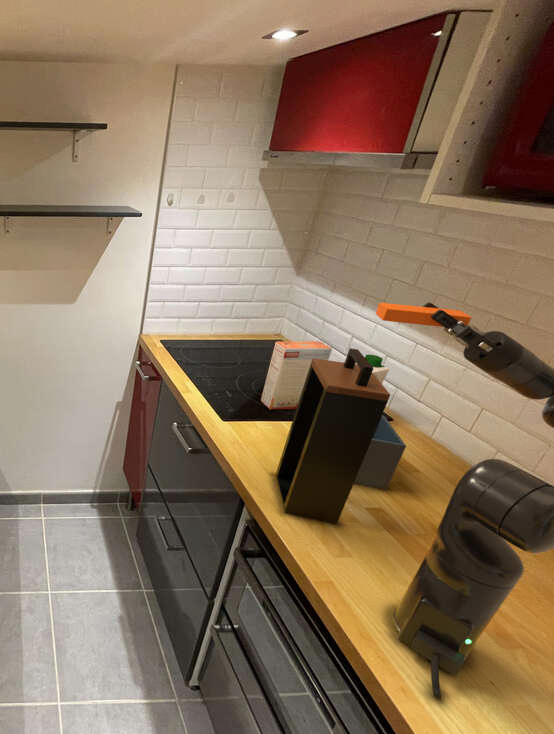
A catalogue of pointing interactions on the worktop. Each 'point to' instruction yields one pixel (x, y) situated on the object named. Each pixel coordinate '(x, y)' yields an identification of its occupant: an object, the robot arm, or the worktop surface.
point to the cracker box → (290, 372)
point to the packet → (416, 314)
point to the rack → (329, 436)
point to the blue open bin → (381, 457)
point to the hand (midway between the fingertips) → (430, 309)
